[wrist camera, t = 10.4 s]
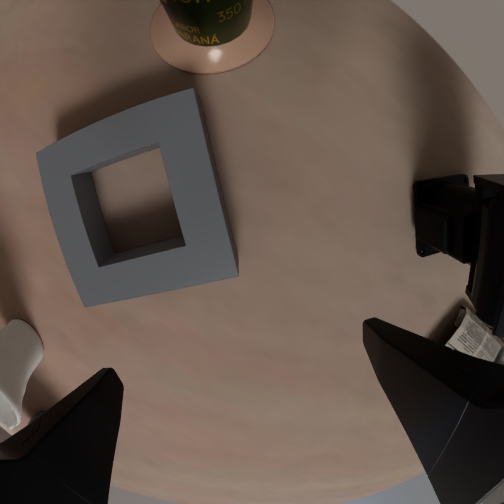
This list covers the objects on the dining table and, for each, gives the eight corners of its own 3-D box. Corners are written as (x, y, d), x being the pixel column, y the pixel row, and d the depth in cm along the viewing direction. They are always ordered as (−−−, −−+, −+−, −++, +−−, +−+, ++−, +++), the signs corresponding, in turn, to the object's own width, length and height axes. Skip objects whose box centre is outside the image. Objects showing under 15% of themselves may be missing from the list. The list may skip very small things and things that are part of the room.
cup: (24, 369, 24) (-12, 421, 15) (-8, 304, 21) (-59, 349, 12) (73, 375, 24) (36, 440, 15) (37, 301, 21) (-22, 358, 12)
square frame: (199, 97, 17) (193, 87, 14) (238, 260, 21) (238, 276, 18) (57, 151, 18) (36, 153, 15) (99, 290, 21) (84, 307, 18)
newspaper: (521, 363, 31) (531, 372, 28) (482, 412, 34) (490, 423, 31) (454, 296, 24) (473, 312, 21) (384, 384, 27) (396, 405, 24)
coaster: (258, -26, 14) (259, -29, 13) (287, 61, 17) (288, 60, 16) (145, -2, 14) (144, -4, 14) (161, 89, 17) (159, 87, 16)
